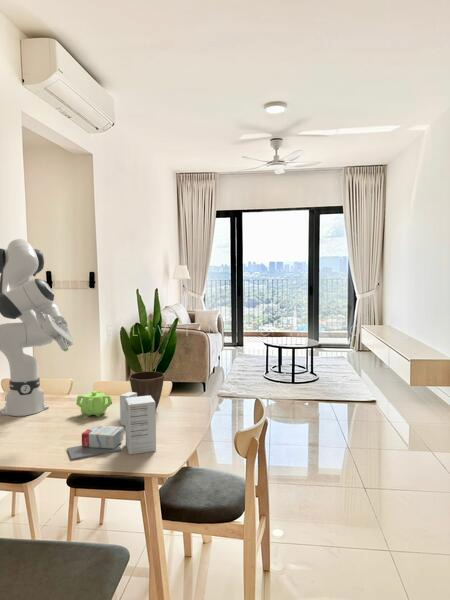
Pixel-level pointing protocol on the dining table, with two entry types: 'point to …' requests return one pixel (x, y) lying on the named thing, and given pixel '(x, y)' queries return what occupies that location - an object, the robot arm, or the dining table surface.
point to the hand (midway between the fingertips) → (65, 349)
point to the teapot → (94, 403)
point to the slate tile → (89, 451)
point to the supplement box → (140, 424)
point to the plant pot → (147, 384)
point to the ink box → (102, 436)
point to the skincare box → (122, 405)
